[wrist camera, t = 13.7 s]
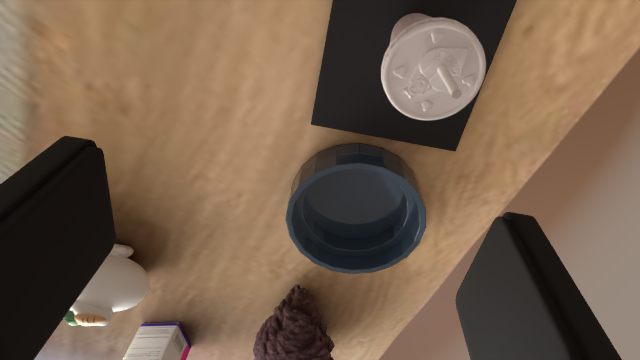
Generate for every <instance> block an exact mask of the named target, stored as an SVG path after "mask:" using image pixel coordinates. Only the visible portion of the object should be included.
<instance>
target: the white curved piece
mask: <svg viewBox="0 0 640 360" xmlns="http://www.w3.org/2000/svg"><path fill="white" fill-rule="evenodd" d="M132 254H133V249H132V248H131V247H130V246H125V245H120V244H114V247H113V249H112V251H111V252H110V254H109V255H108V256H107V258H106V259H105V261H104V262H103V263H102V265H101V266H100V268H99V269H98V270H97V272H96V273H95V275H94V276H93V277H92V279H91V280H90V282H89V283H88V284H87V286H86V287H85V289H84V290H83V291H82V293H81V294H80V296H79V297H78V298H77V300H76V301H75V302H74V304H73V305H72V307H71V308H70V309H69V311H68V312H67V314H66V315H65V316H64V318H66V319H62V320H65V321H66V322H67V323H68V324H70V325H72V326H76V325H78V323H79V324H80V325H82V326H92V325H99V326H105V325H107V324H108V323H109V321H110V318H111V317H112V316H113V313H114V312H116V311H122V310H126V309H129V308H131V307H134V306H135V305H137V304H139V303H140V302H141V301H142V300H143V299H144V298H145V297H146V296H147V294H148V292H149V289H150V279H149V276H148V274H147V272H146V271H145V270H144V269H143V268H142V267H141V266H140V265H139V264H137V263H136V262H134V261H132V260H130V259H128V257H129V256H131V255H132ZM74 315H75V316H74Z"/></svg>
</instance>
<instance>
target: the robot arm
mask: <svg viewBox="0 0 640 360" xmlns="http://www.w3.org/2000/svg"><path fill="white" fill-rule="evenodd" d="M115 239H116V234H115V227H114V221H113V214H112V207H111V200H110V193H109V187H108V180H107V173H106V166H105V160H104V154H103V151H102V149H100V148H97V146H96V144H95V142H94V141H92V140H88V139H82V138H76V137H70V136H64V137H62V138H60V139H59V140H58V141H56V142H55V143H54V144H52V145H51V146H50V147H49V148H47V149H46V150H45V151H43V152H42V153H41V154H39V155H38V156H37V157H35V158H34V159H33V160H32V161H30V162H29V163H28V164H26V165H25V166H24V167H22V168H21V169H20V170H18V171H17V172H16V173H15V174H13V175H12V176H11V177H9V178H8V179H7V180H5V181H4V182H3V183H1V184H0V360H34V358H35V357H36V356H37V354H38V353H39V351H40V350H41V349H42V347H43V346H44V344H45V343H46V342H47V340H48V339H49V337H50V336H51V335H52V333H53V332H54V330H55V329H56V328H57V326H58V325H59V323H60V322H61V321H62V319H63V318H64V316H65V315H66V314H67V312H68V311H69V309H70V308H71V307H72V305H73V304H74V302H75V301H76V300H77V298H78V297H79V296H80V294H81V293H82V291H83V290H84V289H85V287H86V286H87V284H88V283H89V282H90V280H91V279H92V277H93V276H94V275H95V273H96V272H97V270H98V269H99V268H100V266H101V265H102V263H103V262H104V261H105V259H106V258H107V256H108V255H109V254H110V252H111V251H112V249H113V247H114V244H115ZM456 307H457V311H458V314H459V319H460V322H461V326H462V329H463V333H464V336H465V341H466V344H467V347H468V352H469V355H470V359H471V360H622V359H621V358H620V356H619V354H618V353H617V351H616V350H615V348H614V346H613V345H612V343H611V342H610V340H609V338H608V337H607V335H606V333H605V332H604V330H603V329H602V327H601V325H600V324H599V322H598V320H597V319H596V317H595V315H594V314H593V312H592V310H591V309H590V307H589V306H588V304H587V302H586V301H585V299H584V298H583V296H582V294H581V293H580V291H579V290H578V288H577V286H576V285H575V283H574V281H573V280H572V278H571V276H570V275H569V273H568V271H567V270H566V268H565V267H564V265H563V263H562V262H561V260H560V258H559V257H558V255H557V253H556V252H555V250H554V248H553V247H552V245H551V244H550V242H549V240H548V239H547V237H546V236H545V234H544V232H543V231H542V229H541V227H540V226H539V224H538V222H537V221H536V219H535V218H534V217H532V216H529V215H523V214H517V213H511V212H506V213H505V214H504V215H503V216H502V217H500V216H499V217H496V218H495V220H494V221H493V223H492V225H491V227H490V229H489V231H488V233H487V235H486V237H485V239H484V241H483V243H482V245H481V246H480V249H479V251H478V252H477V254H476V256H475V258H474V260H473V262H472V264H471V266H470V268H469V270H468V272H467V274H466V276H465V278H464V280H463V282H462V284H461V286H460V288H459V290H458V292H457V295H456Z"/></svg>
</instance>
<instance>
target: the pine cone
mask: <svg viewBox="0 0 640 360" xmlns="http://www.w3.org/2000/svg"><path fill="white" fill-rule="evenodd" d="M326 329H327V327H326V325H325V324H324V320H323V319H322V313H321V312H320V311H319V310H318V306H317V304H316V303H315V302H314V297H313V295H312V294H310V293H309V290H308V289H306V288H305V287H303V288H300V285H298V284H297V285H295V287H294V288H293V289H291V291H290V293H289V294H288V295H287V296H286V298H285V299H283V300H282V301H281V303H280V305H279V306H278V307H276V308H275V309H274V315H273V316H270V317H269V318H268V319H267V320H266V322H265V323H264V324H263V325H262V326H261V328H260V331H259V332H258V333H257V335H256V341H255V344H254V349H253V351H254V355H255V359H254V360H334V359H333V358H332V357H331V354H330V352H331V351H332V349H333V348H334V343H333V341H332V340H331V338H330V337H329V336H328V335H327V334H326Z"/></svg>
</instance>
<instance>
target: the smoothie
mask: <svg viewBox="0 0 640 360" xmlns="http://www.w3.org/2000/svg"><path fill="white" fill-rule="evenodd" d="M485 71H486V58H485V53H484V50H483V47H482V45H481V43H480V42H479V40H478V39H477V37H476V36H475V35H474V33H473V32H472V31H471V30H470V29H469V28H468V27H467V26H465V25H463V24H461V23H460V22H458V21H456V20H452V19H447V18H443V17H440V18H432V17H429V16H427V15H424V14H420V13H412V14H408V15H406V16H404V17H402V18H401V19H400V20H399V21H398V22H397V23H396V24H395V26H394V28H393V30H392V34H391V39H390V45H389V47H388V49H387V50H386V52H385V54H384V58H383V62H382V65H381V81H382V84H383V88H384V91H385V93H386V95H387V97H388V99H389V101H390V102H391V103H392V105H393V106H394V107H395V108H396V109H397V110H398V111H400V112H401V113H403V114H404V115H406V116H408V117H411V118H414V119H418V120H438V119H442V118H446V117H448V116H451V115H453V114H455V113H457V112H458V111H460V110H461V109H463V108H464V107H465V106H466V105H467V104H469V103H470V101H471V100H472V99H473V98H474V97H475V96H476V94H477V93H478V91H479V89H480V87H481V85H482V83H483V80H484V76H485Z"/></svg>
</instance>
